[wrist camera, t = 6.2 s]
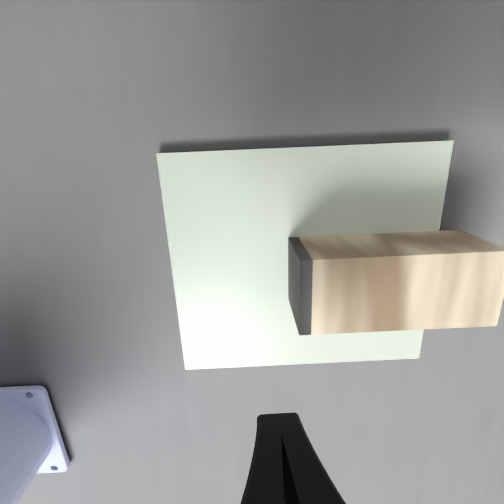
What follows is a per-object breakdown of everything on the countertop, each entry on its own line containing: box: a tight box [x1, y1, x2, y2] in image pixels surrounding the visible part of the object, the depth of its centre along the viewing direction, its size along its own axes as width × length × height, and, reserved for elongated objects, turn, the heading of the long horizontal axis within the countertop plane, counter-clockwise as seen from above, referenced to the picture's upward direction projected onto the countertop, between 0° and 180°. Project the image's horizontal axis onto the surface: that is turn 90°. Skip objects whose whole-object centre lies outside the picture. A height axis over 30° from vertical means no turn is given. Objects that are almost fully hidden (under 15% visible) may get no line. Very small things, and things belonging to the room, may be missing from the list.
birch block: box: [288, 230, 504, 335], centre depth 16 cm, size 4×4×10 cm
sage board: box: [156, 140, 454, 370], centre depth 18 cm, size 16×14×1 cm
